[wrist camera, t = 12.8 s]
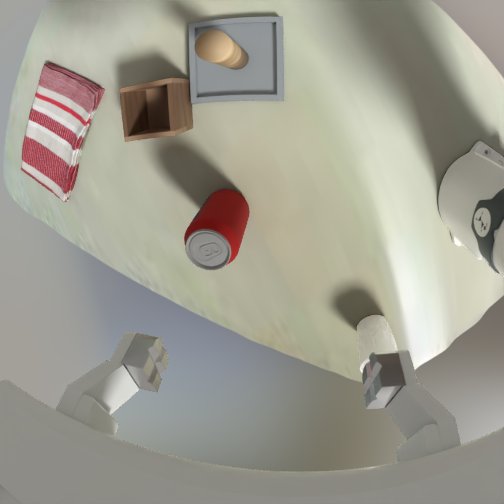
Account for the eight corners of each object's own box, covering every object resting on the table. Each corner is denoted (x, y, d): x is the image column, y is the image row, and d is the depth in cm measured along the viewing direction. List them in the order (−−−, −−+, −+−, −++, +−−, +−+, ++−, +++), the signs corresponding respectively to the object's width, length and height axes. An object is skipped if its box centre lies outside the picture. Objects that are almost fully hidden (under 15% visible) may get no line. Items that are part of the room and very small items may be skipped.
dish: (282, 19, 25) (282, 16, 24) (283, 100, 31) (283, 100, 30) (192, 25, 26) (188, 23, 25) (194, 103, 33) (191, 103, 31)
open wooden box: (190, 79, 31) (171, 77, 25) (193, 128, 35) (175, 135, 29) (144, 86, 31) (119, 88, 26) (147, 132, 35) (125, 141, 30)
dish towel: (109, 87, 32) (99, 88, 30) (72, 201, 44) (64, 207, 42) (50, 61, 28) (40, 62, 26) (24, 165, 40) (15, 170, 38)
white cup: (388, 333, 52) (398, 370, 44) (354, 340, 54) (359, 378, 46) (390, 308, 48) (403, 348, 40) (352, 316, 50) (360, 357, 42)
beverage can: (198, 196, 40) (169, 236, 30) (239, 180, 38) (220, 216, 28) (218, 233, 43) (197, 280, 33) (257, 220, 41) (246, 267, 31)
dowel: (248, 47, 27) (229, 28, 17) (249, 69, 29) (230, 59, 19) (223, 48, 27) (194, 32, 18) (224, 70, 29) (195, 63, 19)
